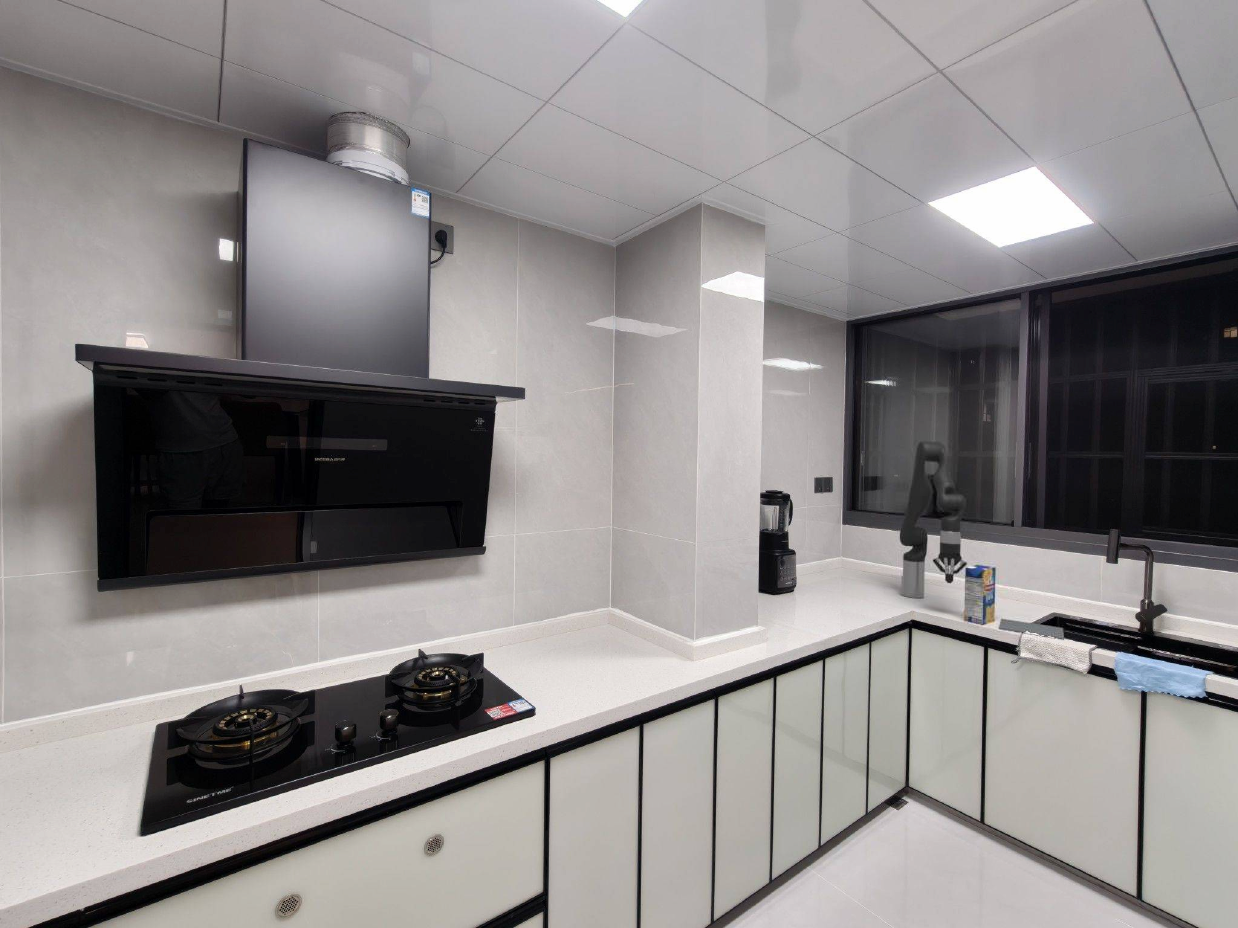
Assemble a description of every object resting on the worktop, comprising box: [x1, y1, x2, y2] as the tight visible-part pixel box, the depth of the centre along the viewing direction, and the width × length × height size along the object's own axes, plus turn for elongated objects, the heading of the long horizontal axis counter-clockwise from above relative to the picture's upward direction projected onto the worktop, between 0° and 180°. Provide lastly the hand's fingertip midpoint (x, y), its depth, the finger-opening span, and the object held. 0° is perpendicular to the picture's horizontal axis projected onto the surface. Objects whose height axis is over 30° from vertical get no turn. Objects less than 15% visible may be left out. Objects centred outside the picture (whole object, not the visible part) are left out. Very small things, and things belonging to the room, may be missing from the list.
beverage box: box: [963, 564, 997, 626], centre depth 229 cm, size 7×11×22 cm, turn 125°
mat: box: [998, 618, 1065, 641], centre depth 219 cm, size 20×16×1 cm
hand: (949, 582), depth 235 cm, fingers closed
